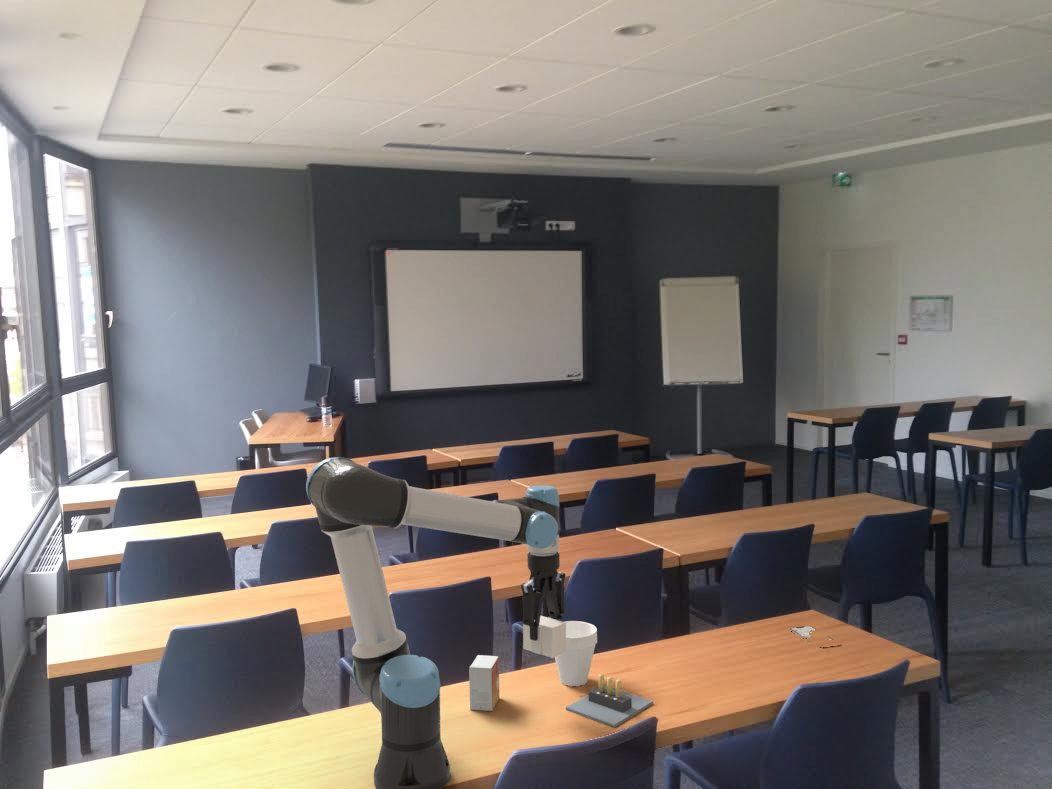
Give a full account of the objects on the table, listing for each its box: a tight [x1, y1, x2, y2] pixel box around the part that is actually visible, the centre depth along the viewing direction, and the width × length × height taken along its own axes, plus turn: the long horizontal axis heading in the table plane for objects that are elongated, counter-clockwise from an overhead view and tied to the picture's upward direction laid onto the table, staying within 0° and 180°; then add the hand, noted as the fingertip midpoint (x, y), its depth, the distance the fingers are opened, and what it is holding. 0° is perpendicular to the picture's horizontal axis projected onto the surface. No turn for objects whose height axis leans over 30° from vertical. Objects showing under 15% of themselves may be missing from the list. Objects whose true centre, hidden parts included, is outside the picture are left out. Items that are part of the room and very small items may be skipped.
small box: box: [468, 654, 500, 712], centre depth 200 cm, size 8×6×10 cm
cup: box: [554, 620, 598, 687], centre depth 212 cm, size 12×12×14 cm
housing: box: [522, 615, 566, 659], centre depth 196 cm, size 5×9×7 cm, turn 48°
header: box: [565, 673, 654, 728], centre depth 198 cm, size 16×14×7 cm
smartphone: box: [789, 625, 834, 642], centre depth 241 cm, size 7×1×15 cm
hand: (544, 648), depth 196 cm, fingers closed on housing, 5 cm apart
